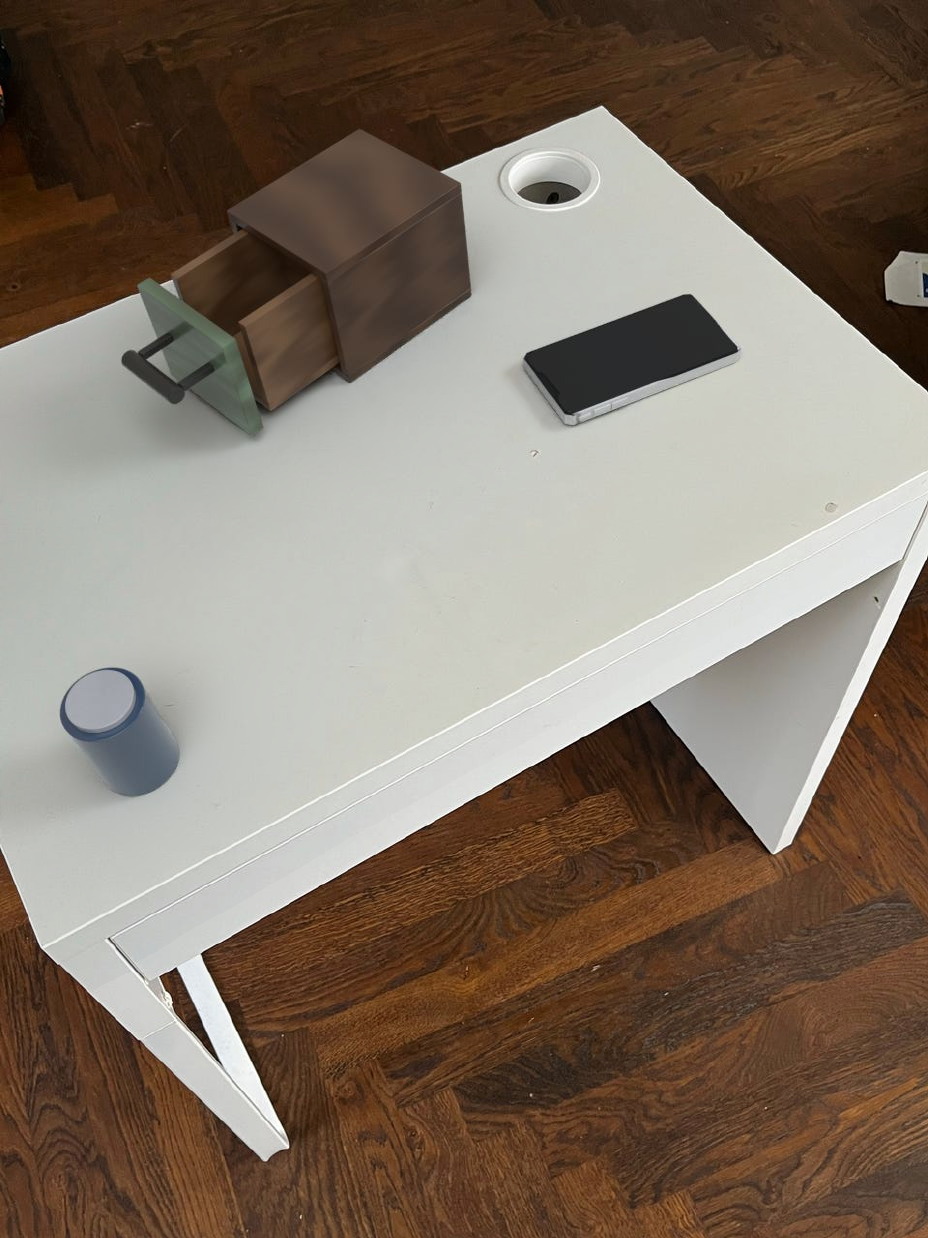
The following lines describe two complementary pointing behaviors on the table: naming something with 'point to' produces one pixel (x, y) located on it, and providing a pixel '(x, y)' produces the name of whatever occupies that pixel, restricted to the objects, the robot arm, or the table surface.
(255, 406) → the drawer
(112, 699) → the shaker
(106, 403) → the table surface
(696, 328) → the smartphone
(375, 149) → the cabinet
